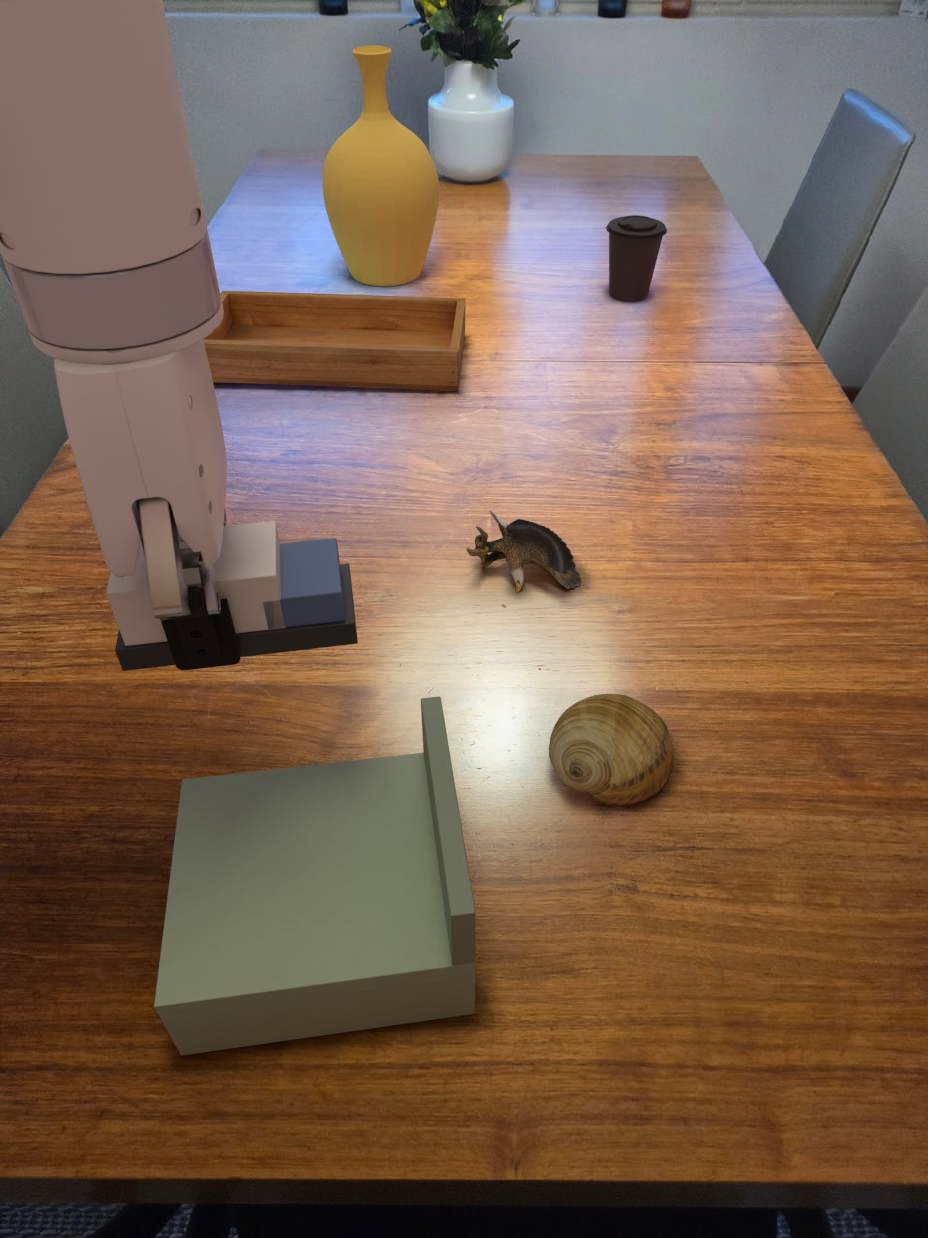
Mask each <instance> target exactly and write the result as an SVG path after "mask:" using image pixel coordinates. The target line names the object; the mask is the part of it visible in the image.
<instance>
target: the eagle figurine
mask: <svg viewBox="0 0 928 1238" xmlns="http://www.w3.org/2000/svg"><path fill="white" fill-rule="evenodd" d="M489 515H491V517H492V518H493V519H494V521H495V522H496V523H497V526H498V528H499V532H500V533H501V538H498V539H495V540H492V541H488V538H489V534H488V532H486V531H485V530H484V529H483V528H482V527H480V526H477V525H476V526H475V528H476V530H477V531H478V532H479V534H478V535H476V536H475V538H474V546H475V547H474V548H470V547H466V552H467V554H468V555H469V556H471V557H478V558H479V559H480V563H481V564H480V566H481V567H482V568H487V567H488V566H490V565H491V564H492V563H493V562H495V561H498V560H504V559H506V564H507V567H508V570H509V571H510V573H511V575H512V577H513V580H514V585H515V593H519V592H520V591H521V589H522V586H523V585H524V580H525V575H524V566H525V565H530V564H531V565H535V566H537V567H539V568H541V569H542V570H544V571H545V572H547V574H549V575H551V576H552V578H554V580H556V581H557V582H558V583H559V584H560V585H561V586H562V587H564V588H565V590H569V589H576V587H579V586H581V583H582V578H581V577H580V576H581V574H580V572H578V570H577V565H576V563H575V561H574V559H575V557H574V555H573V553H572V552H571V551H572V550H571V549H570V548H569V547H568V544H567V543H566V541H563V539H562V537H560V536H559V535H558V534H557V533H555V531H553V530H552V529H550V527H547V526H545V525H541V524H539V523H537V522H534V521H530V520H526V519H521V518H517V519H515V520H513V521H512V522H509V524H507V523H506V522H504V520H502V519H501V518H500V516H498V515H497V513H495V511H494V510H492V509H489Z"/></svg>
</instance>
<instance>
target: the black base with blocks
mask: <svg viewBox="0 0 928 1238" xmlns="http://www.w3.org/2000/svg"><path fill="white" fill-rule="evenodd" d="M280 540H281V539H280V535H279V529H278V525H277V521H276V520H269V521H268V520H267V521H266V520H265V521H259V522H258V521H257V522H248V523H237V524H227V525H226V526H224V527H223V539H222V548H221V554H220V557H219V558H218V559H217V561H216V562H215V563H214V569H215V574H216V579H217V584H218V590H219V595H220V598H221V599H225V598H227V600H228V604H229V608H230V612H231V616H232V620H233V624H234V628H235V632H236V636H237V640H238V644H239V648H240V652H241V654H240V658H246V657H254V656H263V655H271V654H281V653H289V652H298V651H306V650H315V649H324V648H331V647H339V646H340V647H341V646H346V645H347V646H348V645H357V644H358V643H359V641H358V640H359V639H358V629H357V622H356V621H357V620H356V611H355V602H354V592H353V582H352V576H351V575H352V574H351V567H350V566H351V565H350V563H341V560H340V554H339V546H338V539H337V538H336V537H332V538H330V537H329V538H321V539H313V540H303V541H293V542H282V543H281V541H280ZM179 546H180V549H186V548H190V547H189V546H188V545H187V544H186V543H185V542H179ZM183 577H184V582H185V585H186V586H187V587H193V586H197V587H199V588H202V584H201V579H200V574H199V569H198V568H190V569H183ZM105 595H106V598H107V601H108V603H109V606H110V609H111V611H112V614H113V616H114V619H115V622H116V625H117V627H118V632H117V637H116V643H115V648H114V652H115V655H116V657H117V660H118V663H119V665H120V668H121V670H122V672H127V671H128V672H129V671H134V670H135V671H136V670H144V669H152V668H161V667H170V666H175V663H174V659H173V656H172V653H171V650H170V647H169V644H168V641H167V638H166V635H165V632H164V629H163V626H162V623H161V620H160V619H156V618H155V617H154V614H153V610H152V604H151V596H150V588H149V580H148V573H147V565H146V560H145V556H144V551H143V547H142V543H141V542H140V547H139V553H138V558H137V564H136V569H135V574H134V575H128V576H124V577H116V576H115V575H114V574H112V573H111V572H110V571H109V577H108V582H107V587H106V591H105Z"/></svg>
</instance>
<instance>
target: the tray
mask: <svg viewBox="0 0 928 1238" xmlns="http://www.w3.org/2000/svg"><path fill="white" fill-rule="evenodd" d="M220 296H221V300H222V305H223V310H224V315H223V319H222V322H221V324H220V325H219V326H218V328H216V329H215V330H214V331H213V332H212V333H211V334H210V335H209V336H207V337H206V338H204V339H203V341H204V345H205V350H206V354H207V358H208V362H209V366H210V371H211V375H212V380H213V383H223V384H224V383H227V384H228V383H229V384H258V385H259V384H260V385H262V384H264V385H291V386H314V387H315V386H317V387H318V386H319V387H320V386H321V387H323V386H324V387H345V388H346V387H347V388H368V389H371V388H372V389H397V390H398V389H399V390H400V389H402V390H422V391H423V390H425V391H451V392H458V391H459V388H460V380H461V372H462V363H463V356H464V355H463V354H464V347H465V340H466V339H465V337H466V298H464V297H443V296H442V297H439V296H437V297H436V296H409V295H408V296H407V295H406V296H404V295H379V294H378V295H373V294H348V293H347V294H345V293H341V294H340V293H316V292H314V293H313V292H282V291H251V290H249V291H248V290H222V291H221V292H220Z"/></svg>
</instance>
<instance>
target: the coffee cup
mask: <svg viewBox="0 0 928 1238" xmlns="http://www.w3.org/2000/svg"><path fill="white" fill-rule="evenodd" d="M605 229H606V232H607V233H608V294H609V295H608V296H610V297H611V298H612V299H613V300H615V301H619V302H623V303H638V302H642V301H645V300H646V299H647V298H648V296H649V292H650V289H651V285H652V281H653V276H654V273H655V270H656V269H655V268H656V265H657V260H658V256H659V252H660V250H661V249H660V248H661V245H662V241H663V237H664V236H665V235H666V234H667V232H668V229H667V227H666V224H665V223H664V222H663V221H661V220H659V219H656V218H653V217H649V216H645V215H638V214H636V215H635V214H633V215H625V216H619V217H616V218H615V217H614V218H613V219H611V220H609V222H608V224H607V225H606V226H605Z"/></svg>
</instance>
